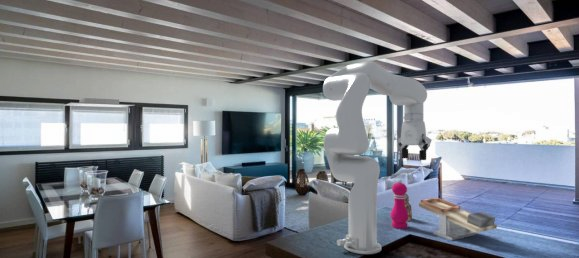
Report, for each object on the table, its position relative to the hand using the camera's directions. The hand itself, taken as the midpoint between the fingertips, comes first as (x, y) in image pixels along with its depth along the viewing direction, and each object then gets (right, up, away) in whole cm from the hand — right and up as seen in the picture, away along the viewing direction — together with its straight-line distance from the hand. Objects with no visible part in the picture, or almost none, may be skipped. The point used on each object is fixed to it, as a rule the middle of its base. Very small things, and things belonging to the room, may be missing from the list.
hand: (413, 159), depth 139 cm
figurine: (+1, -29, +14) cm, 32 cm away
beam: (+13, -22, -9) cm, 27 cm away
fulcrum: (+13, -29, -9) cm, 33 cm away
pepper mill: (-5, -29, +1) cm, 29 cm away
